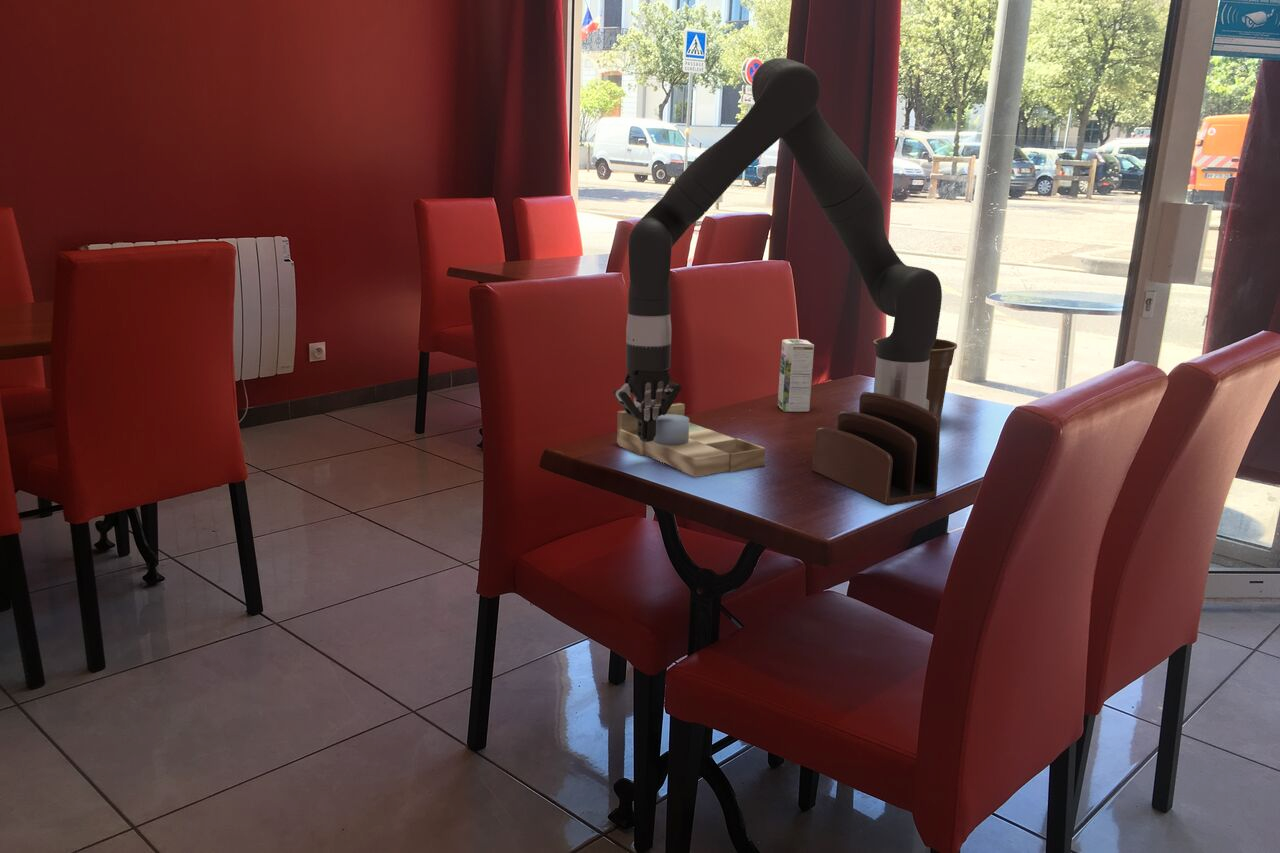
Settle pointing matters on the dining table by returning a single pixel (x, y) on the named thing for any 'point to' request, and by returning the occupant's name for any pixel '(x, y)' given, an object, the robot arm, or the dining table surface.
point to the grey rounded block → (672, 429)
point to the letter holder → (882, 450)
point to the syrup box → (795, 375)
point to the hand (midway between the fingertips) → (646, 440)
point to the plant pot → (937, 373)
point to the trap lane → (692, 448)
